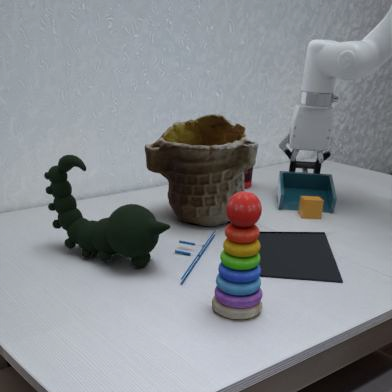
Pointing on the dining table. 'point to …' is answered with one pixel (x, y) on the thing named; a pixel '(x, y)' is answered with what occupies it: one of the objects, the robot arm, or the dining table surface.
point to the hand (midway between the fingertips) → (303, 176)
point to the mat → (297, 256)
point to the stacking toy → (240, 260)
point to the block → (310, 207)
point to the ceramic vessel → (202, 166)
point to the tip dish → (305, 187)
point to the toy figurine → (102, 222)
